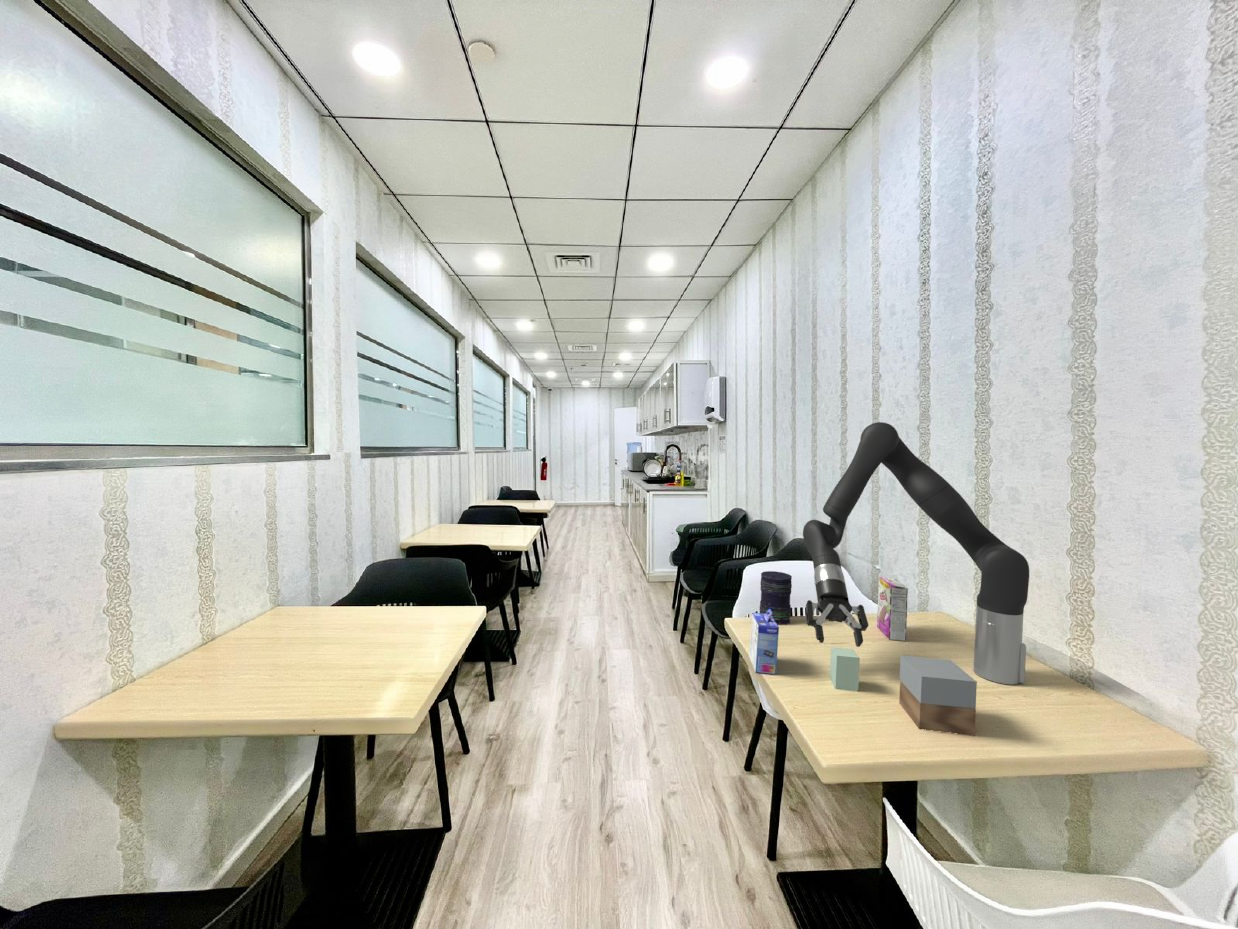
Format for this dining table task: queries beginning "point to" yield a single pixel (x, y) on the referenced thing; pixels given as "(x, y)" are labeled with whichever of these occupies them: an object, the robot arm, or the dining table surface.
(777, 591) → the storage jar
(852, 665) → the sage block
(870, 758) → the dining table surface
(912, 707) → the tower base
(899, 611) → the candy bar box
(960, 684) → the tower top
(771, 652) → the ink cartridge box
